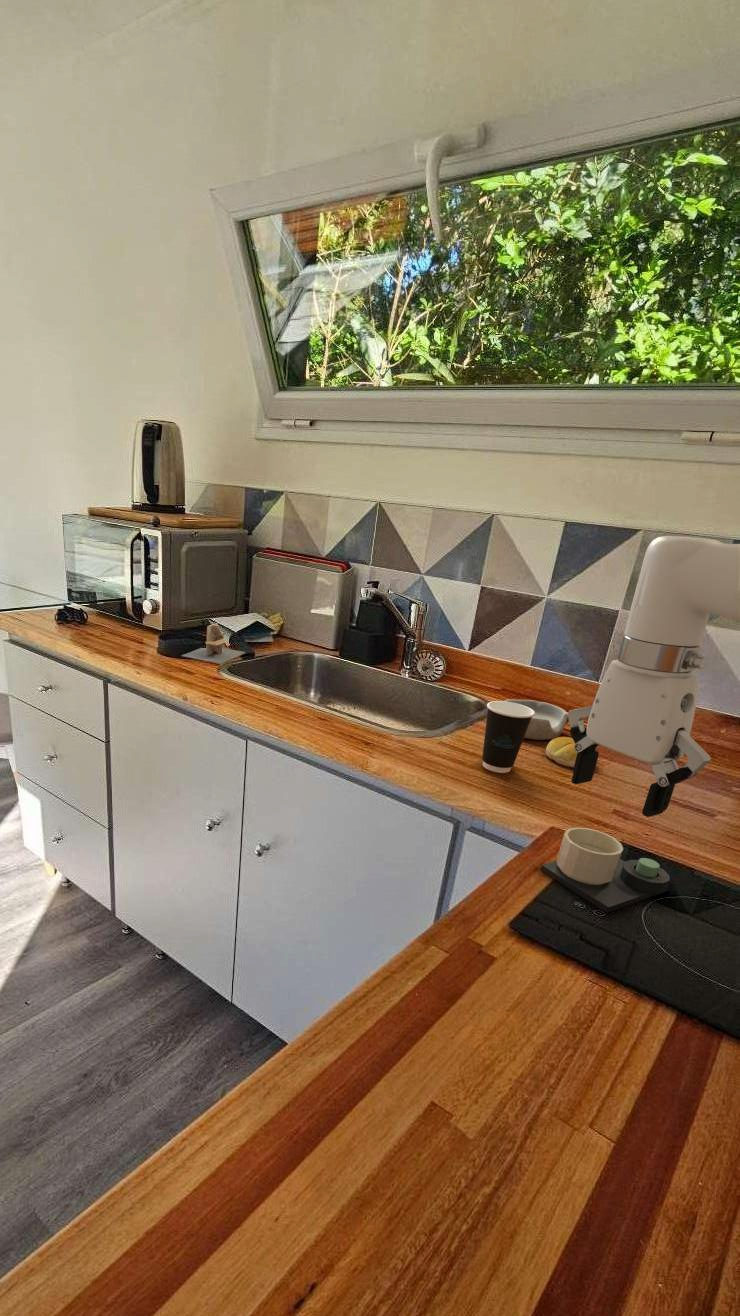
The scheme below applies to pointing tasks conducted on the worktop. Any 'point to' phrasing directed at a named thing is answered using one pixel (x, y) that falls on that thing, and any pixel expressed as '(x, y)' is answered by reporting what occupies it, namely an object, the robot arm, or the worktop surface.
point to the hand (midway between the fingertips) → (615, 797)
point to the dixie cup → (504, 734)
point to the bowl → (589, 856)
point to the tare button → (647, 867)
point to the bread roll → (562, 751)
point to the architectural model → (214, 648)
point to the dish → (544, 720)
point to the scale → (614, 885)
